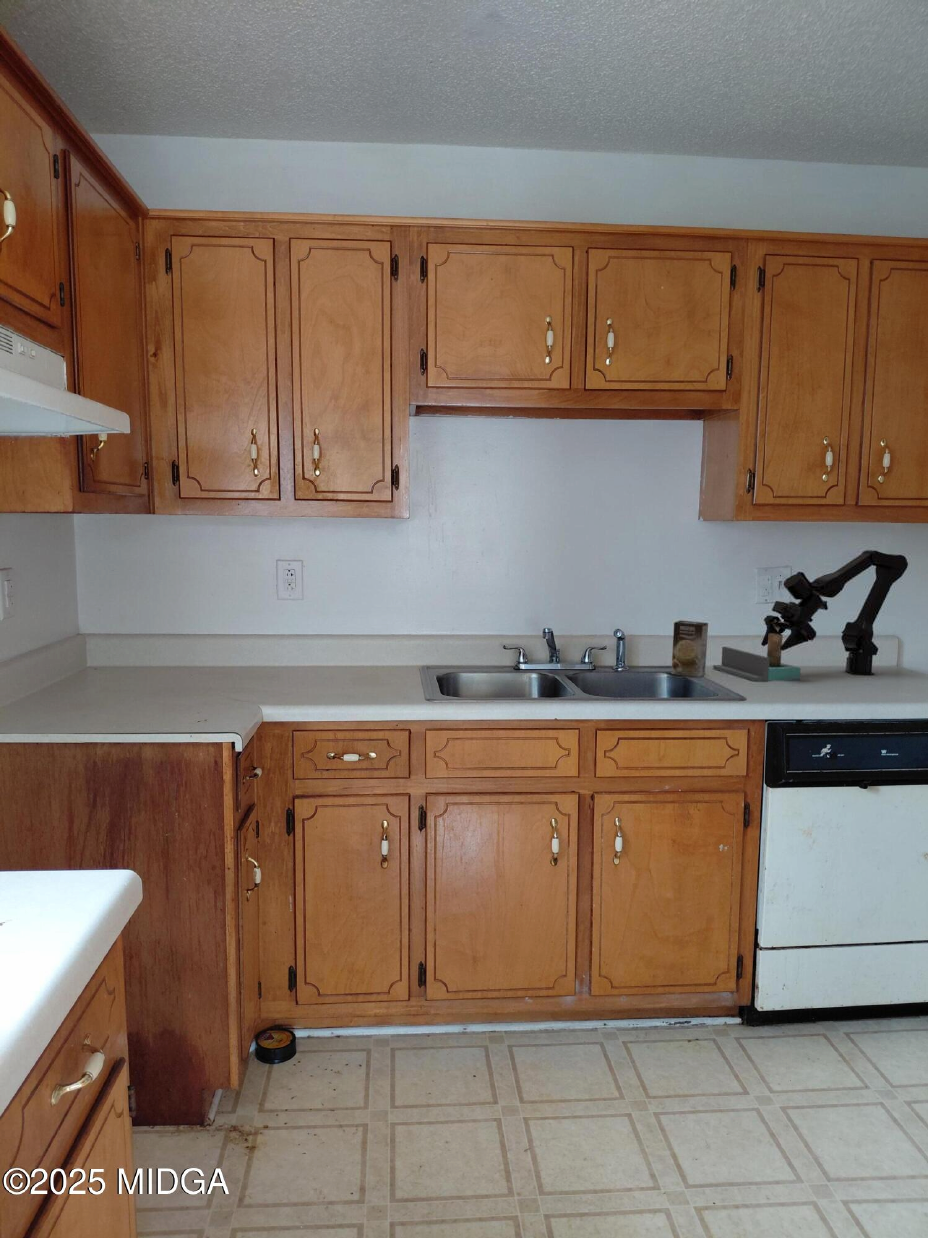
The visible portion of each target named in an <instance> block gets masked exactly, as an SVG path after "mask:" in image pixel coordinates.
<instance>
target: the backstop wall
mask: <svg viewBox="0 0 928 1238" xmlns="http://www.w3.org/2000/svg"><path fill="white" fill-rule="evenodd" d="M721 650H722V651H721V664H713V665H712V669H713V670H715V671H718V670H719V671H718V672H721V671H722V673H725V674H728V675H732V676H735V677H737V678H738V677H739V678H742V679H745V680H747V681H751V682H755V681H756V682H757V681H760V682H769V681H768V674H769V657H767V656H765V655H761V654H758V653H753V652H748V651H744V650H740V649H737V648H734V647H729V646H722V649H721ZM756 682H755V683H756Z"/></svg>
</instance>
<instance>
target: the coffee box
mask: <svg viewBox="0 0 928 1238" xmlns="http://www.w3.org/2000/svg"><path fill="white" fill-rule="evenodd" d="M708 630H709V622H702V621H701V622H700V621H689V620H681V619H680V620H678V621H675V622H674V623H673V637H672V656H671V672H670V674H671V675H678V676H687V677H694V678H695V677H696V678H700V676H701V677H703V676H704V675H706V664H707V663H706V662H707V649H708V648H707V645H708ZM702 675H703V676H702Z"/></svg>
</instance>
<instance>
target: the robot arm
mask: <svg viewBox="0 0 928 1238" xmlns="http://www.w3.org/2000/svg"><path fill="white" fill-rule="evenodd" d="M872 566H873V567H875V568H874V569H875V580H874V582H873V584H872V586H871V589H870V590H869V592H868V595H867V597H866V598H865V600H864V603H863V605H862V606H861V609H860V611H859V613H858V616H857V618H856V619H855V620H853V621H847V622H846V624H845V625H844V629H843V631H841V634H842V635H841V642H842V644H843V648H844V651H845V652H846V653H848V654H847V655H848V656H847V657H846V663H845V670H844V671H846V672H847V673H850V674H852V675H875V673H874V672H873V671H872V670H873V656H877V654H878V651H879V647H878V645H876V644H875V642H873V639H874V624H875V622H876V619H877V617H878V616H879V613H880V611H881V609H882V607H883V604H884V603H885V600H886V598H887V596H888V594H889V592H890V590H891V587H892V586H893V584H894V583H896V582H897V581H898V580H900V578H902V577H903V575H904V573H905V572H906V570H907V569H908V566H909V562H908V559H907V558H906V556H905V555H902V554H892V553H891V554H890V553H885V552H881V551H879V550H876V549H875V550H874V549H873V550H872V549H866V550H864V551H862V552H861V553H860V554H859V555H858V556H856V557H855V558H853V559H852V560H850V561H849V562H847V563H846V564H844V565H843V566H841V567H840V568H838V569H837V570H835V571H833V572H830V573H828V574H827V573H826V574H823V575H821V576H818V577H817V578H815V579H814V580H813V581H810V580H809V579H808V577H807V576H806V574H805V573H804V571H797V573H795V574H793V575H791V576H789V577H787V578H786V579H784V582H783V584H782V585H783V587H784V588H785V589H786V590H787V592H788V593H789V594H790V595H791V596H792V598H793V599H794V600H796V601H797V600H800V601H798V603H796V602H794V601H789V602H785V601H779V600H775V602H774V604H773V606H772V608H771V611H772V612H775V613H776V614H778V615H780V616H777V615H772V614H768V615H766V617H764V618H763V622H764V624H765V626H766V631H765V634H764V636H763V638H762V640H761V642H760V643H761V646H762V647H765V646H768V635H769V634H770V633H776V634H784V633H785V632H786V630H788V631H790V634H789V635H788V636H787V638H786V639H785V640H784V642H782V646H781V647H780V649H781V650H782V651H781V652H784V651H785V650H788V649H791V648H793V647H795V646H798V645H801V644H803V643H808V642H809V641H812V642H813V640H815V638H816V637H817V631H816V630H815V628H814V627H813V626H812V625H811V623H812V622H813V621H814V619H813V616H814V615H815V614H816V613H817V612H818V611H819V610H823V611H827V610H828V609H829V607H828V601H827V600H823V598H829V599H833V598H835V597H837V596H838V595H839V593H841V592H842V591H843V590H844V587H845V585H846V584H847V583H849V582H850V581H851V580H853V579H854V578H856V577H857V576H859V575H860V574H862V573H863V572H864V571H866V570H868V569H869V568H870V567H872ZM822 597H823V598H822ZM780 618H781V619H782V620H783V621H782V620H781V619H780Z"/></svg>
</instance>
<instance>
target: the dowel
mask: <svg viewBox="0 0 928 1238" xmlns="http://www.w3.org/2000/svg"><path fill="white" fill-rule="evenodd" d="M783 636H784V635H783V633H781V634H776V633H770V634H769V635H768V644H767V652H766V657H769V667H780V665H781V663H782V652H783V651H782V650H781V649H780V647H781V646H782V644H783Z"/></svg>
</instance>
